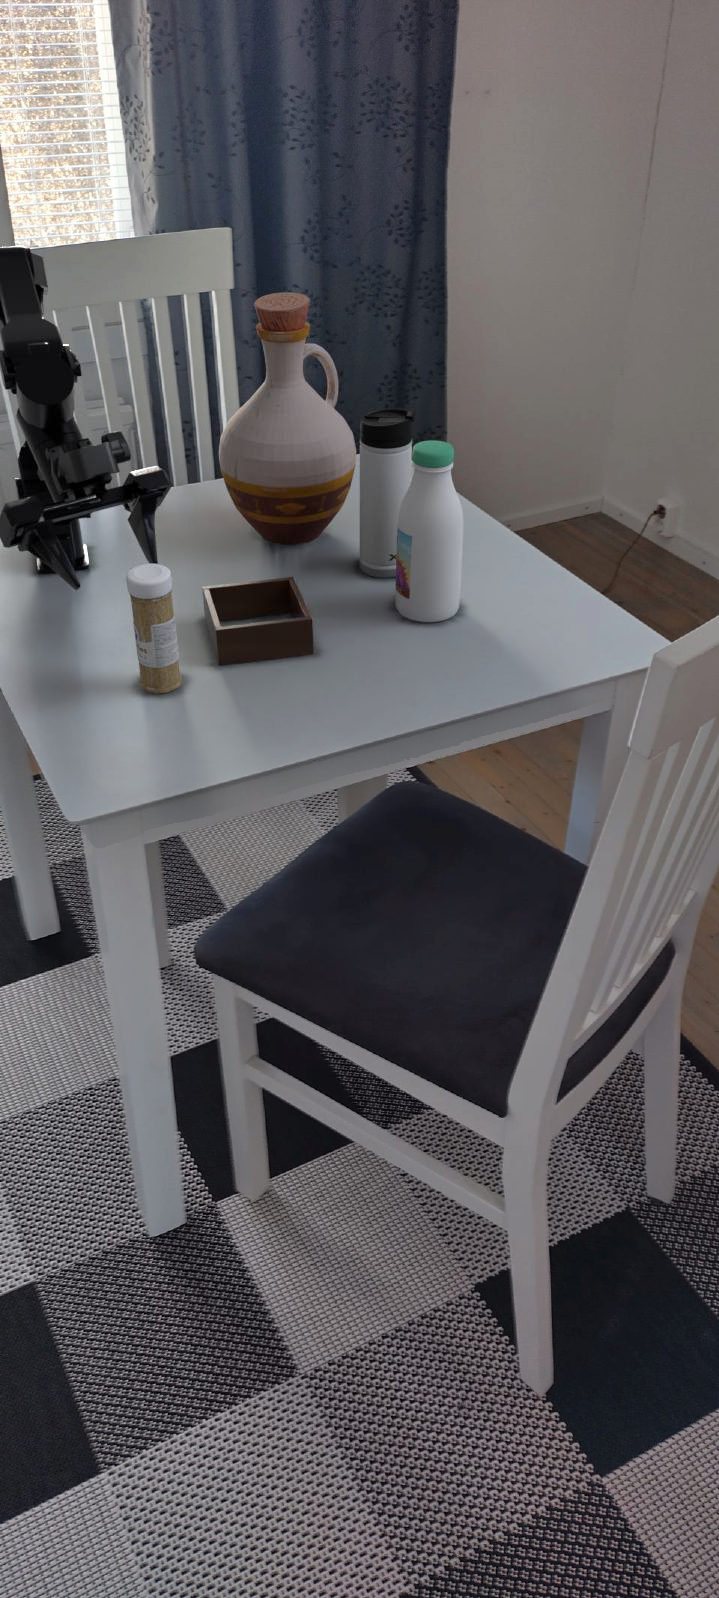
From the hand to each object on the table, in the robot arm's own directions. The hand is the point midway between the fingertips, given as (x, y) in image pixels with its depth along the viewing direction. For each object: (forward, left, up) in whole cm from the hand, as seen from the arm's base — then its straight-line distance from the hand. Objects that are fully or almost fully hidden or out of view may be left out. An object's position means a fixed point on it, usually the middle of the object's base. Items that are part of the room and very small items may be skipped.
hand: (117, 576), depth 127 cm
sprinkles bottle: (+7, +3, -10) cm, 13 cm away
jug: (-29, +25, -10) cm, 39 cm away
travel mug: (-15, +34, -10) cm, 38 cm away
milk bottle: (-3, +36, -10) cm, 37 cm away
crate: (-1, +15, -10) cm, 18 cm away
